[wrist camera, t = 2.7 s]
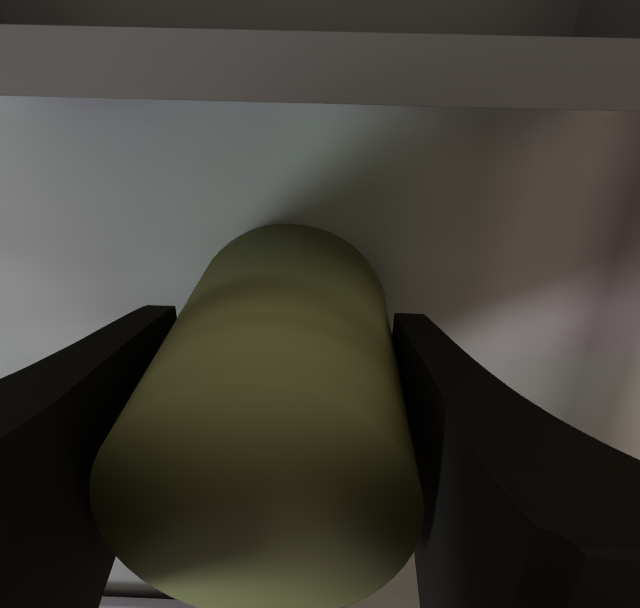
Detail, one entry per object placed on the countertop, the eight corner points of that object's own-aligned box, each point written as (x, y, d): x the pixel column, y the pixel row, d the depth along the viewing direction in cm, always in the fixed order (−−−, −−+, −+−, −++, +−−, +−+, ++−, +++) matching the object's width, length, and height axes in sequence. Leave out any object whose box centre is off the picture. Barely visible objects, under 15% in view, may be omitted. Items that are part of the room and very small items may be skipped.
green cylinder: (378, 393, 13) (406, 625, 8) (205, 388, 13) (118, 612, 8) (393, 226, 11) (444, 388, 6) (188, 220, 11) (56, 374, 6)
